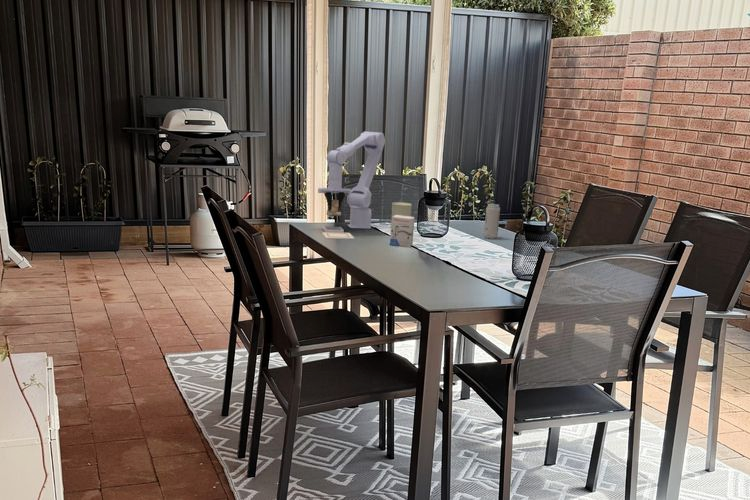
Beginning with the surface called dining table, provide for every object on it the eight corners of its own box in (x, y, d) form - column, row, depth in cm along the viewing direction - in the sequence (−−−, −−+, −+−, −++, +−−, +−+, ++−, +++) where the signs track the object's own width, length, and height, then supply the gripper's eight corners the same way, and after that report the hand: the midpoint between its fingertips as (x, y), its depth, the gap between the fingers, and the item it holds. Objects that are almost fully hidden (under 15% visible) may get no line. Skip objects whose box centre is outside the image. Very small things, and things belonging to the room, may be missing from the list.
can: (390, 226, 317) (391, 200, 314) (409, 227, 317) (411, 201, 314) (390, 229, 307) (392, 203, 305) (410, 230, 308) (412, 204, 305)
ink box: (389, 245, 271) (391, 216, 269) (392, 243, 276) (394, 214, 274) (410, 247, 269) (412, 218, 267) (413, 245, 274) (415, 216, 271)
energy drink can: (483, 236, 303) (486, 203, 300) (496, 237, 303) (499, 204, 300) (484, 238, 298) (487, 205, 295) (497, 239, 297) (501, 206, 294)
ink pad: (340, 229, 301) (340, 226, 300) (343, 232, 293) (343, 229, 293) (322, 228, 299) (322, 226, 299) (325, 232, 291) (325, 229, 291)
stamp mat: (349, 233, 291) (349, 232, 291) (354, 239, 280) (354, 237, 280) (321, 233, 288) (321, 232, 288) (325, 238, 277) (325, 237, 277)
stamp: (337, 214, 298) (338, 199, 296) (340, 216, 293) (341, 200, 292) (326, 214, 296) (327, 199, 295) (329, 216, 291) (330, 200, 290)
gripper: (348, 177, 298) (346, 208, 300) (316, 177, 292) (315, 208, 295) (353, 179, 291) (351, 210, 294) (321, 179, 286) (319, 210, 289)
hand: (333, 209), depth 294 cm, fingers closed on stamp, 3 cm apart
